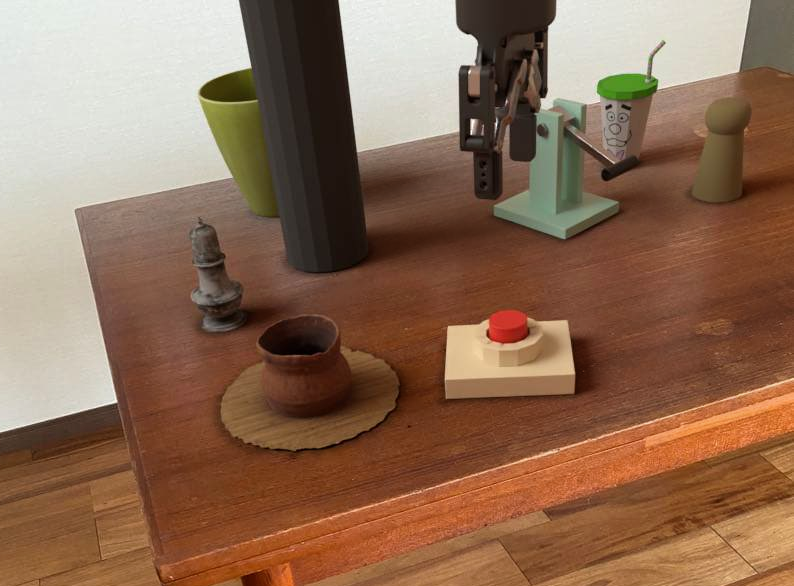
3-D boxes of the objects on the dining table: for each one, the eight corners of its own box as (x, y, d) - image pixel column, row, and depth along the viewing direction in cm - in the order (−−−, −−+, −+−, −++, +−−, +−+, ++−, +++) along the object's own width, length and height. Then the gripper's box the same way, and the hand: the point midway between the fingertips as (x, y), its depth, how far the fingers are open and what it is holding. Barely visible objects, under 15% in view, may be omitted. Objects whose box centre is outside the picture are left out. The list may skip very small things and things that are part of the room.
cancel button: (526, 325, 86) (526, 308, 84) (528, 344, 83) (528, 327, 82) (489, 327, 86) (488, 310, 85) (489, 346, 83) (488, 329, 82)
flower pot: (292, 236, 115) (268, 105, 104) (203, 222, 122) (173, 98, 111) (351, 191, 124) (335, 67, 113) (266, 181, 131) (244, 62, 120)
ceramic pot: (383, 454, 79) (374, 387, 74) (195, 450, 82) (175, 386, 77) (412, 348, 91) (406, 285, 87) (249, 348, 95) (234, 287, 90)
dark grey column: (316, 232, 115) (273, -38, 95) (383, 242, 111) (353, -38, 91) (271, 266, 109) (214, -14, 89) (340, 278, 105) (296, -14, 85)
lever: (634, 173, 103) (642, 155, 101) (606, 187, 101) (613, 169, 99) (560, 120, 107) (566, 101, 105) (532, 132, 105) (537, 113, 103)
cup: (582, 169, 122) (588, 49, 112) (607, 149, 126) (614, 32, 116) (636, 176, 118) (647, 53, 108) (659, 156, 123) (672, 35, 113)
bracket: (618, 212, 111) (627, 103, 102) (565, 240, 106) (569, 128, 98) (546, 190, 118) (548, 86, 109) (493, 215, 114) (491, 110, 105)
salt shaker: (251, 328, 98) (227, 223, 90) (198, 337, 98) (169, 232, 90) (248, 304, 102) (225, 201, 94) (198, 312, 102) (170, 210, 94)
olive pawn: (733, 205, 109) (748, 110, 102) (684, 198, 112) (696, 106, 104) (748, 186, 112) (764, 94, 105) (701, 180, 115) (713, 90, 108)
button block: (566, 339, 90) (568, 303, 87) (574, 394, 83) (576, 356, 80) (448, 344, 91) (446, 309, 89) (446, 399, 84) (443, 362, 81)
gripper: (523, -25, 58) (521, 216, 69) (584, -69, 67) (573, 151, 78) (418, -24, 61) (432, 208, 72) (491, -66, 70) (493, 145, 81)
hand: (506, 178), depth 75 cm, fingers open, 8 cm apart
